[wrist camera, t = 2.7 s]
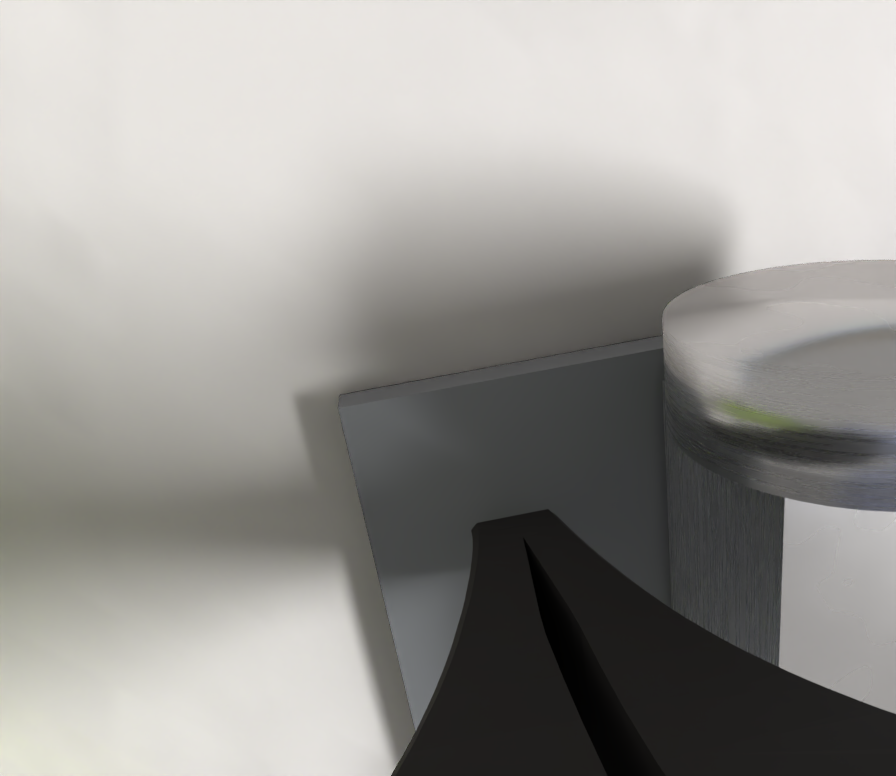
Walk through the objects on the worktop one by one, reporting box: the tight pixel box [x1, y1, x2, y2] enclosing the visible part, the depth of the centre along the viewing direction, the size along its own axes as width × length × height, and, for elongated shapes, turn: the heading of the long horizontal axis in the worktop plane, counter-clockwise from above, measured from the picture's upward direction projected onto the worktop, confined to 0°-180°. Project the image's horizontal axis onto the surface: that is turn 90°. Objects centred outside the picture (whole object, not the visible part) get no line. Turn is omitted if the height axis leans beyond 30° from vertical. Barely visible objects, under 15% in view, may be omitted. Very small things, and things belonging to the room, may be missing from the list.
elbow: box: [662, 260, 896, 714], centre depth 11 cm, size 14×5×5 cm, turn 9°
